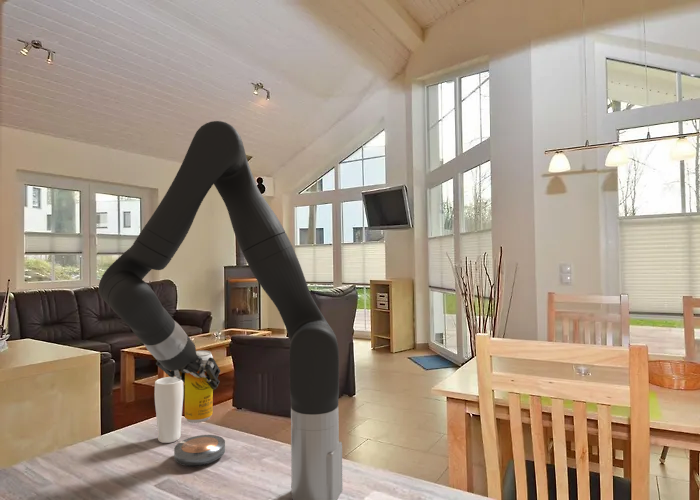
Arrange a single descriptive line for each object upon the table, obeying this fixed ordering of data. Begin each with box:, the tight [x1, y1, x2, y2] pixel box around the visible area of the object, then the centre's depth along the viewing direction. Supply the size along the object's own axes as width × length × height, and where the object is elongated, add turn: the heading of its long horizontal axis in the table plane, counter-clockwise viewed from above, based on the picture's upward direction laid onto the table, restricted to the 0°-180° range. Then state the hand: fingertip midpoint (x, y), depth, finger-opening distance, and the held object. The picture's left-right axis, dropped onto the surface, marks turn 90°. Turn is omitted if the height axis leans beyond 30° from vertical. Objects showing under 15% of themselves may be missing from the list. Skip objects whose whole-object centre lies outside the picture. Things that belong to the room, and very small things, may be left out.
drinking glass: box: [154, 376, 184, 444], centre depth 109 cm, size 7×7×15 cm
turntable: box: [173, 434, 226, 467], centre depth 99 cm, size 11×11×2 cm
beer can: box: [184, 350, 214, 424], centre depth 99 cm, size 6×6×15 cm
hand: (203, 384), depth 101 cm, fingers closed on beer can, 6 cm apart
